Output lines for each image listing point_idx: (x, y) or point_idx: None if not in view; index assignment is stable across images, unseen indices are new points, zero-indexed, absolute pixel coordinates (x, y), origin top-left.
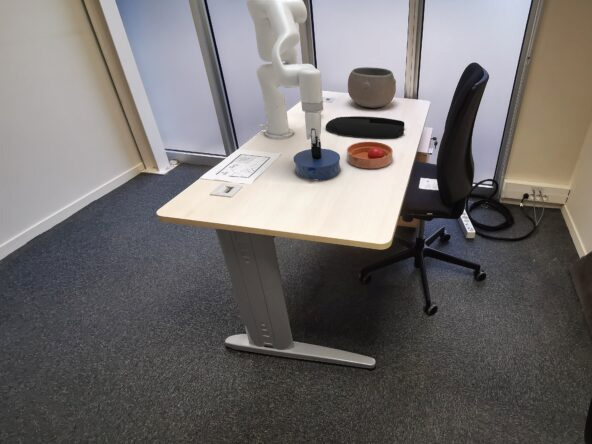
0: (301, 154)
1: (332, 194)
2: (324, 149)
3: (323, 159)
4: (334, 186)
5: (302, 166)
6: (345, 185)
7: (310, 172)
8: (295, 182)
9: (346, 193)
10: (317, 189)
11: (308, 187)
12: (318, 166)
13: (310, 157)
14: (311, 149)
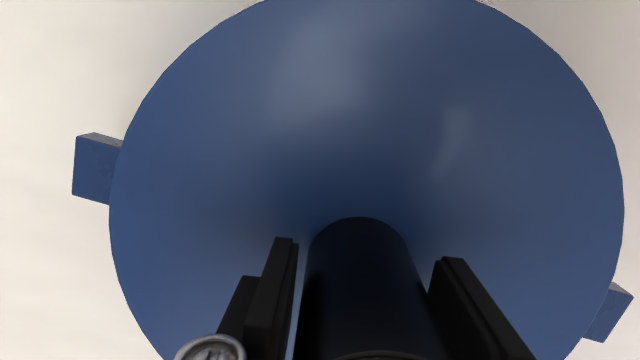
0: (478, 93)
1: (7, 264)
2: (556, 345)
3: (293, 316)
4: (110, 285)
5: (149, 99)
6: (125, 342)
7: (74, 172)
8: (167, 21)
9: (28, 335)
10: (63, 182)
11: (89, 123)
12: (124, 262)
13: (364, 197)
14: (257, 291)
